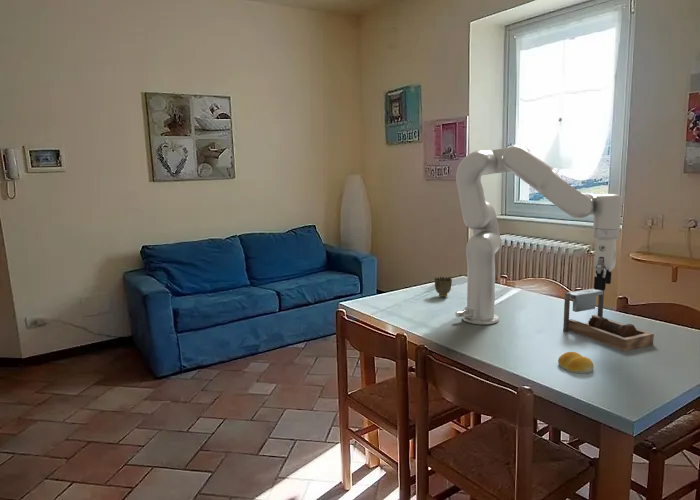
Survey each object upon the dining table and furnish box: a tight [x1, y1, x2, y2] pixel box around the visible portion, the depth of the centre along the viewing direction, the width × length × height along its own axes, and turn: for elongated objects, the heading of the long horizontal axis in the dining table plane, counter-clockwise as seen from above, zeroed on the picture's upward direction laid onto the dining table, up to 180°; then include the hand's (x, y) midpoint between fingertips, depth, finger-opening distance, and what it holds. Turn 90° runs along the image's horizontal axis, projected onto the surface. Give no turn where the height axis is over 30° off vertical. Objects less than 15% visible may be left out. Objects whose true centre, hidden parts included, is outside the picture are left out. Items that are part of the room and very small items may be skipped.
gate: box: [567, 287, 603, 313], centre depth 171 cm, size 12×4×6 cm, turn 112°
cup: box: [433, 276, 453, 298], centre depth 216 cm, size 8×7×8 cm
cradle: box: [562, 290, 655, 352], centre depth 162 cm, size 17×22×13 cm
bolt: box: [587, 317, 636, 338], centre depth 163 cm, size 6×5×15 cm
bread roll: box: [557, 351, 595, 374], centre depth 141 cm, size 8×9×4 cm
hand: (602, 286), depth 164 cm, fingers open, 9 cm apart
